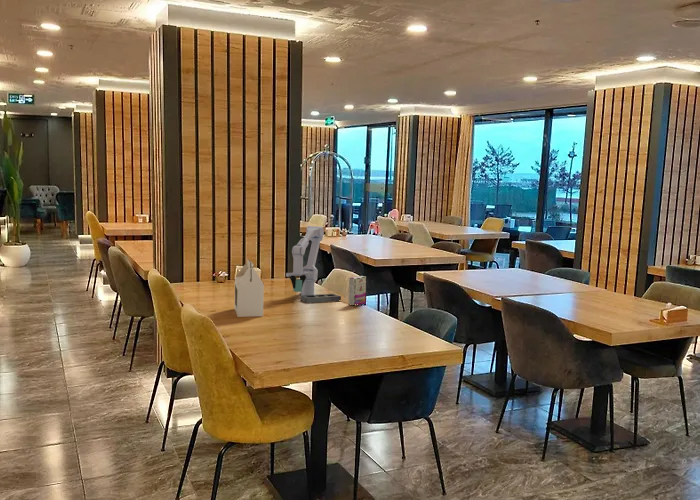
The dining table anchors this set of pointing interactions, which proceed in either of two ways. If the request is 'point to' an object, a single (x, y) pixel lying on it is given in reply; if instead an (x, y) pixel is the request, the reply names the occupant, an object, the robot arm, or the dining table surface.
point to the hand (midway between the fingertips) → (297, 287)
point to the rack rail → (320, 298)
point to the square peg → (298, 286)
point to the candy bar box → (357, 290)
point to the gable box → (248, 292)
